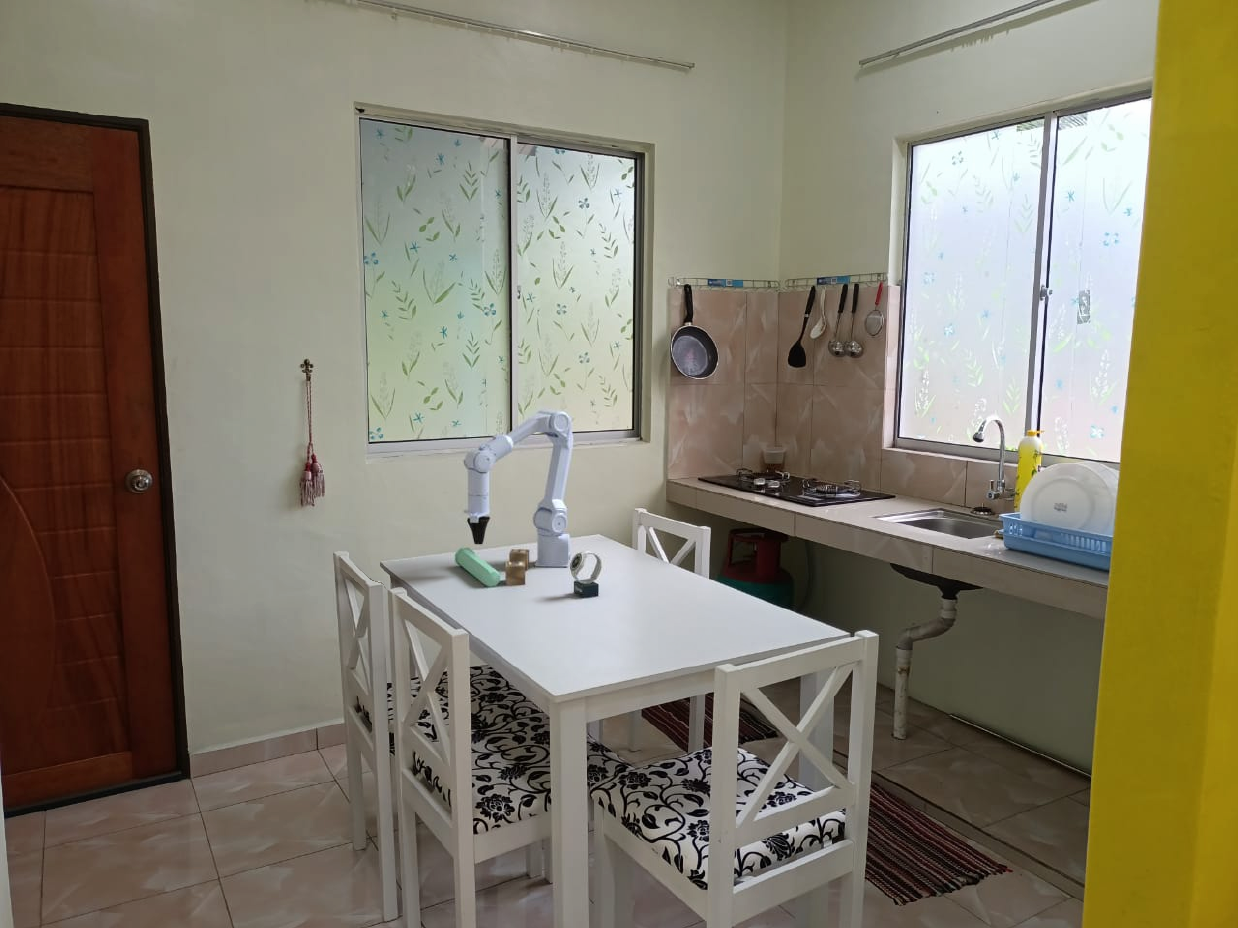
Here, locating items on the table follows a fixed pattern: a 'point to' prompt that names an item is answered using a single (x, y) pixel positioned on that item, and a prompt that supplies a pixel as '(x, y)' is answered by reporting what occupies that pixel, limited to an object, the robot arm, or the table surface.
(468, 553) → the container
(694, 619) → the table surface
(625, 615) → the table surface
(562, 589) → the table surface
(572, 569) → the watch
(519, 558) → the labelled block
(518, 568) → the labelled block
